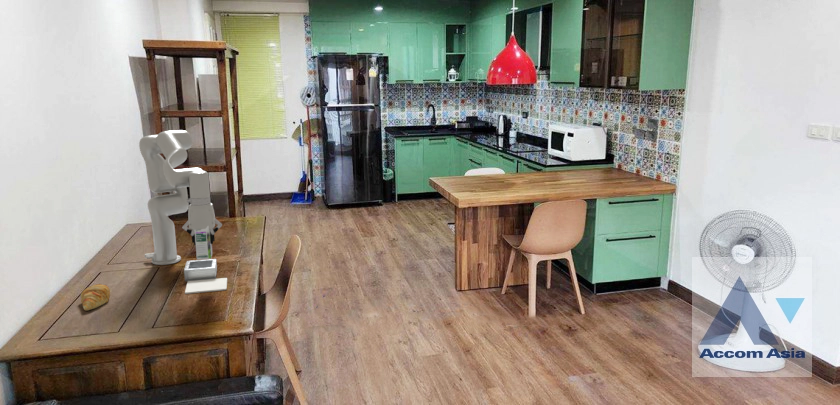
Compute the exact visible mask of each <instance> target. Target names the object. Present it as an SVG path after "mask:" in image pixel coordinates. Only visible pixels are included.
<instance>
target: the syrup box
mask: <svg viewBox="0 0 840 405" xmlns="http://www.w3.org/2000/svg"><path fill="white" fill-rule="evenodd" d="M194 232H195V243H196V245H195V251H196V253H195V255H196V260H202V259H203V260H207V259H212V257H213V244H211V237H210V234H211V232H210V229H209V226H207V227H206V229H197V230H194Z"/></svg>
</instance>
